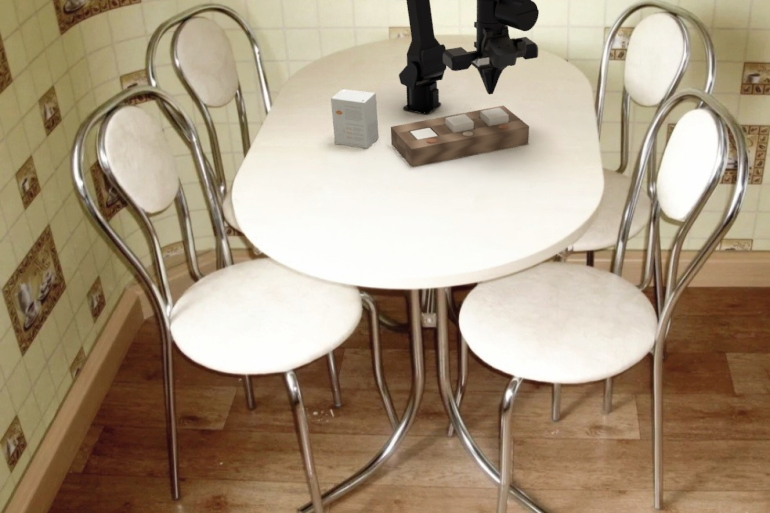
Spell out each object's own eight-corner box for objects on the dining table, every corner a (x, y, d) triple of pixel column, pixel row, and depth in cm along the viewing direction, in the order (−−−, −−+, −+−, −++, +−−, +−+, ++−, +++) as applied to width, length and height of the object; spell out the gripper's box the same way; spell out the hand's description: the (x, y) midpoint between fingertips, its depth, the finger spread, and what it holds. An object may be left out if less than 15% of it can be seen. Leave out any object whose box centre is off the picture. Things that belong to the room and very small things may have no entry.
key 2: (489, 132, 199) (489, 118, 197) (480, 124, 202) (480, 111, 201) (508, 128, 200) (508, 115, 199) (499, 120, 204) (499, 107, 202)
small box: (379, 138, 204) (376, 92, 199) (368, 149, 200) (365, 102, 195) (345, 133, 207) (342, 88, 202) (334, 144, 203) (330, 97, 198)
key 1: (418, 153, 195) (417, 139, 194) (410, 144, 199) (409, 131, 197) (437, 149, 197) (437, 135, 195) (429, 140, 200) (429, 127, 199)
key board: (412, 167, 192) (411, 148, 190) (391, 144, 202) (390, 125, 200) (528, 143, 199) (529, 125, 197) (502, 122, 209) (503, 104, 207)
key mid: (453, 139, 197) (453, 125, 195) (445, 131, 200) (445, 117, 199) (473, 135, 198) (473, 121, 196) (464, 127, 201) (464, 114, 200)
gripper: (462, 38, 180) (462, 115, 188) (552, 24, 184) (548, 100, 193) (441, 21, 189) (442, 95, 197) (527, 8, 193) (524, 81, 202)
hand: (490, 93), depth 197 cm, fingers closed
